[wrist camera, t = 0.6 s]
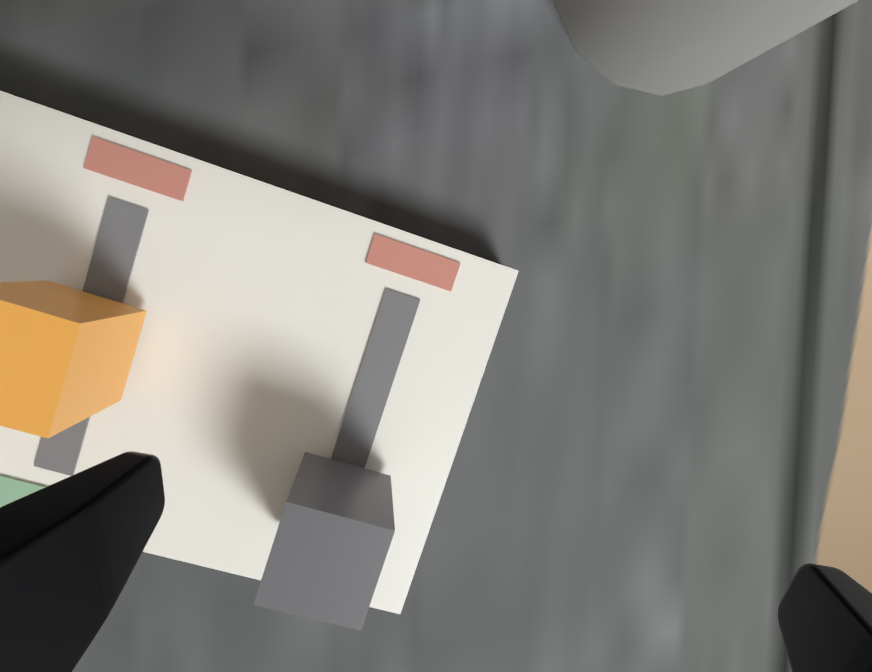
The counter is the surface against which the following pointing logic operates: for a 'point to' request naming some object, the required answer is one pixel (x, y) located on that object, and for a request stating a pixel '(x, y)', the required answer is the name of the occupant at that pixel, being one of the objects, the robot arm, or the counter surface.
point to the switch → (329, 543)
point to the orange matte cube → (61, 354)
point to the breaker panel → (244, 337)
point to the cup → (683, 36)
